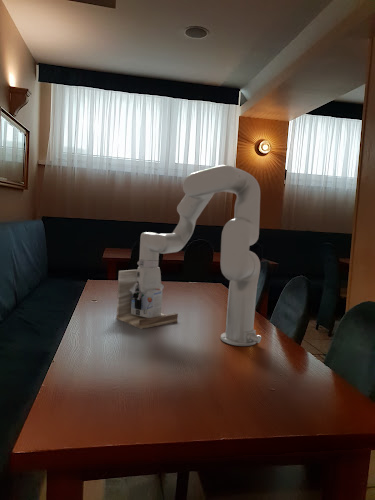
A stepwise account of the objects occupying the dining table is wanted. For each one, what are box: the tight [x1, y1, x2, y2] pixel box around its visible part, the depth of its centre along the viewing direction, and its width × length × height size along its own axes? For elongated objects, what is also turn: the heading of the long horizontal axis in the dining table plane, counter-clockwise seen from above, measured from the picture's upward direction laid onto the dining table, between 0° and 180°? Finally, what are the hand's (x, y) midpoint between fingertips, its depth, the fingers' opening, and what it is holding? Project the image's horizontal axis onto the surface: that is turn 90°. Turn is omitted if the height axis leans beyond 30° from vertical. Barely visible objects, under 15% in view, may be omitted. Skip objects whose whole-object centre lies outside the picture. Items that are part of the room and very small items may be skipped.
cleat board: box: [116, 269, 179, 330], centre depth 151 cm, size 16×18×19 cm
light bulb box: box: [131, 288, 164, 318], centre depth 152 cm, size 11×7×11 cm, turn 61°
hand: (146, 307), depth 152 cm, fingers closed on light bulb box, 7 cm apart
